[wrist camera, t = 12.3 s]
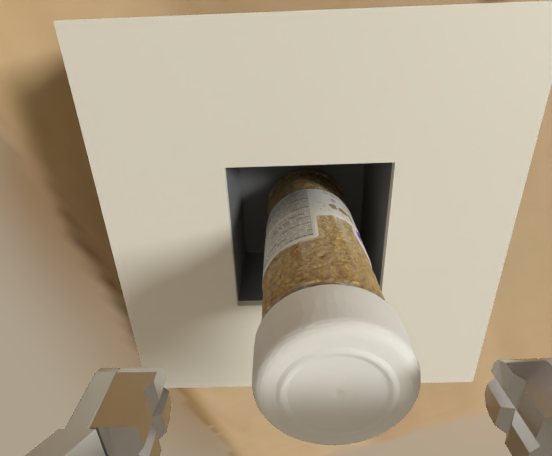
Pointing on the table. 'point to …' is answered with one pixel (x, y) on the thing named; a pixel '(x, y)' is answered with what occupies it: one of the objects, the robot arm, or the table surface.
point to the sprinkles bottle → (326, 323)
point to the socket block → (309, 162)
